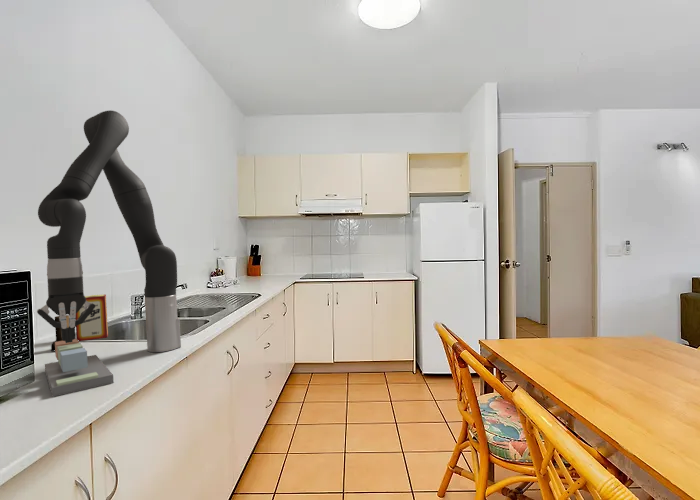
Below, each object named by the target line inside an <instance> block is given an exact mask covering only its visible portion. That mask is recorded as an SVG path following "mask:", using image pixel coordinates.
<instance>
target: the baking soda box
mask: <svg viewBox="0 0 700 500" xmlns="http://www.w3.org/2000/svg"><path fill="white" fill-rule="evenodd" d="M84 296H85V297H86V301H88V302H90V303H93V304H95V308H94V309H93V311H92V312H91V313H90V314H89V316H88V317H87V318H86V319H85V321H84V322H83V323H82V324H79V325H77V326H76V327H75V338H76V339H77V340H79V342H84V341H92V340H99V339H100V340H101V339H108V337H109V328H108V327H109V326H108V325H109V324H108V310H107V307H108V306H107V294H91V295H84ZM84 306H85V304H84V305H83V306H82V307H81V309H80V310H79V311H78V312H77V313H76V318H75V320H77V319H78V318H79V317H80V315H81V314H82V313H83V312H84V310H85V309H84Z"/></svg>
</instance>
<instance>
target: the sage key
mask: <svg viewBox="0 0 700 500" xmlns="http://www.w3.org/2000/svg"><path fill="white" fill-rule="evenodd" d="M80 348H84V346H83V344H81V342H79V343H77V344H70V345H64V346H58V347H57V350H58V361H57V362H59V365H60V366H61V360H60V352H62V351H68V350H74V349H80Z"/></svg>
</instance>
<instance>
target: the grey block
mask: <svg viewBox="0 0 700 500" xmlns="http://www.w3.org/2000/svg"><path fill="white" fill-rule="evenodd" d="M87 356H88V350H86V348H85V347H83V348H80V349H74V350H68V351H62V352H60V360H61V369H62V371H63V372H67V371H72V370H77V369H82V368H87V367H88V362H87Z"/></svg>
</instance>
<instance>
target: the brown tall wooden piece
mask: <svg viewBox="0 0 700 500" xmlns="http://www.w3.org/2000/svg"><path fill="white" fill-rule="evenodd" d="M54 320H55V321H56V322H60V318H59V315H57V316H54ZM66 321H67V327H69V314H67V315H66ZM54 330H55V340H54V341H53V342H52V343H51V344H50V347H51V348H50V349H51V351H52V350H55V342H58V341H63V340H62V333H61V328H57V327H56V328H55V327H54Z"/></svg>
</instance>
